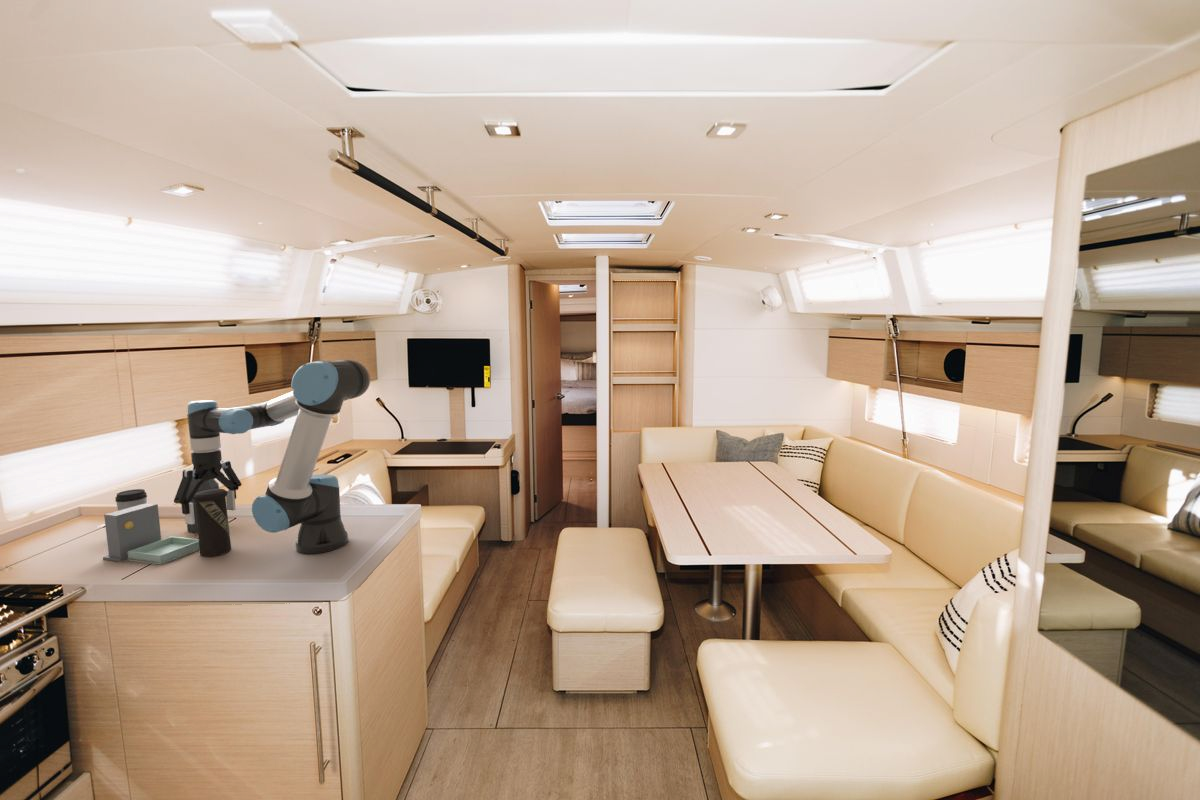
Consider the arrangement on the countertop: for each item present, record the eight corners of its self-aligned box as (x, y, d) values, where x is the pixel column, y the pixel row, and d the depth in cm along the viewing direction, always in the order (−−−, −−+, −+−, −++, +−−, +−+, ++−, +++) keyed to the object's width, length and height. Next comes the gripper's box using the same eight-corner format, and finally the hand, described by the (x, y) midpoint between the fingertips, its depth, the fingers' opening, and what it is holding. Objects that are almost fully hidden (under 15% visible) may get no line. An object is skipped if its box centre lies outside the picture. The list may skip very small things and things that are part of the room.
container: (215, 558, 165) (209, 495, 163) (191, 556, 167) (184, 493, 165) (239, 547, 173) (234, 487, 171) (216, 545, 175) (210, 486, 173)
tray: (203, 548, 173) (202, 539, 173) (161, 564, 161) (160, 555, 160) (172, 544, 177) (171, 536, 176) (128, 560, 164) (127, 551, 164)
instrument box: (167, 544, 177) (163, 503, 175) (119, 561, 163) (114, 517, 162) (151, 542, 178) (147, 501, 177) (103, 559, 165) (98, 515, 163)
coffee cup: (154, 532, 188) (150, 490, 187) (124, 540, 181) (119, 496, 180) (145, 528, 193) (141, 487, 191) (115, 535, 186) (110, 493, 184)
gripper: (233, 442, 179) (237, 503, 182) (154, 458, 155) (161, 528, 158) (251, 443, 177) (255, 505, 180) (174, 459, 154) (180, 531, 156)
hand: (211, 516), depth 169 cm, fingers open, 13 cm apart
